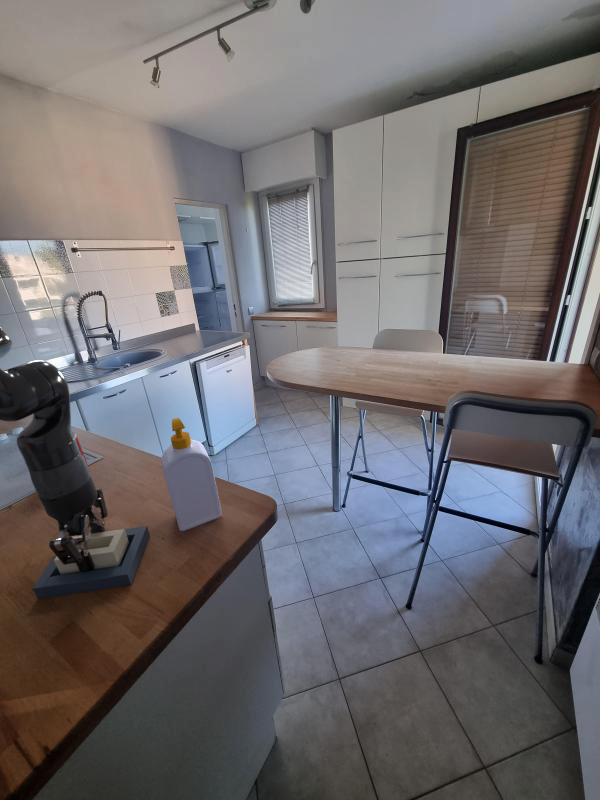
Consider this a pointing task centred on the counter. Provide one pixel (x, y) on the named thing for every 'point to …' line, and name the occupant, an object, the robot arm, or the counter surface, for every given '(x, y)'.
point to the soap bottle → (190, 480)
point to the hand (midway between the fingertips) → (95, 555)
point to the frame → (100, 550)
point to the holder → (95, 571)
